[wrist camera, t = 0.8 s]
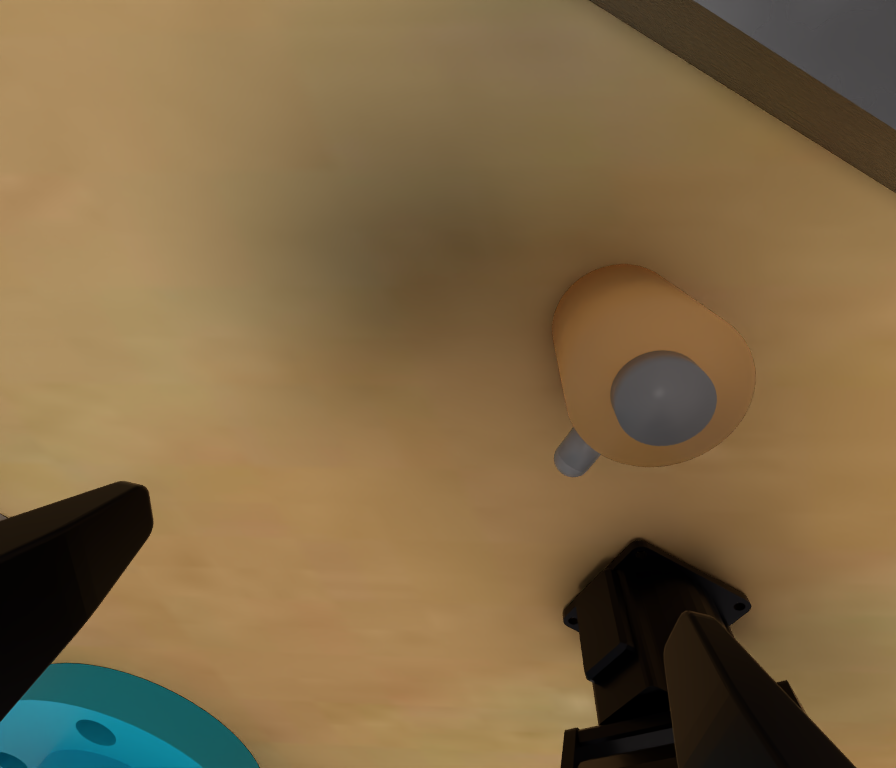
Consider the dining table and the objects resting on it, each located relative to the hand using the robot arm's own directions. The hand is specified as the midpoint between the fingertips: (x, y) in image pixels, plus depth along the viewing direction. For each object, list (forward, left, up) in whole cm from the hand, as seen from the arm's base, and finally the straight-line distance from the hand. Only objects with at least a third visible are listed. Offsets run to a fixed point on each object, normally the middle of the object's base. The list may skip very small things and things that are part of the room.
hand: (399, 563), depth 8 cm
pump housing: (-5, -3, -12) cm, 14 cm away
